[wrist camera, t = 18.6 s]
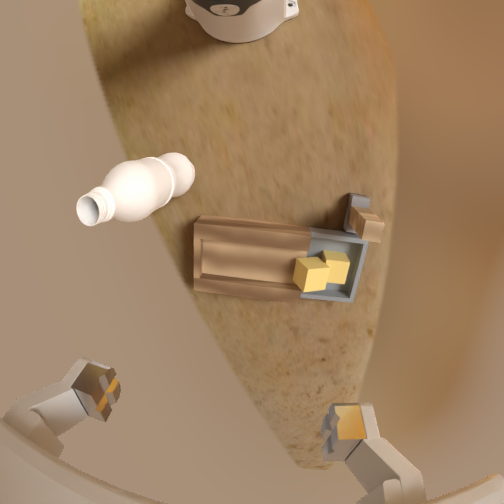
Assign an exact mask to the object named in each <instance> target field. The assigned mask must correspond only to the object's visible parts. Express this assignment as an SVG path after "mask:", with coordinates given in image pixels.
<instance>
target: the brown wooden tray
mask: <svg viewBox="0 0 504 504" xmlns="http://www.w3.org/2000/svg"><path fill="white" fill-rule="evenodd" d="M311 237H312V236H311V233H310V230H309V226H302V225H294V224H285V223H277V222H268V221H260V220H251V219H241V218H232V217H222V216H212V215H201V216H200V217H199V218H198V219H197V220H196V222H195V223H194V290H196V291H202V292H209V293H216V294H224V295H231V296H239V297H246V298H254V299H263V300H271V301H280V302H289V303H298V304H299V302H300V297H301V292H302V290H301V289H300V288H299V287H298V286H297V284H296V283H295V282H294V281H293V275H294V269H295V263H296V258H305V257H306V255H307V251H308V252H309V248H310V243H311Z"/></svg>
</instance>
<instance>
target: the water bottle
mask: <svg viewBox="0 0 504 504" xmlns="http://www.w3.org/2000/svg"><path fill="white" fill-rule="evenodd" d="M194 179H195V169H194V166H193V164H192V163H191V162H190V161H189V160H188V158H187V157H186V156H184V155H182V154H180V153H167V154H164V155H161V156H160V157H158V158H155V157H147V158H143V159H140V160H135V161H126V162H123V163H120V164H118V165H116V166H115V167H114V168H112V169H111V170H110V171H109V172H108V174H107V175H106V176H105V178H104V180H103V182H102V184H101V186H100V187H96V188H94V189H93V190H92V191H90V192H89V193H88V194H85V195H84V196H82V197H81V198H80V199H79V200H78V202H77V207H76V210H77V215H78V217H79V219H80V221H82V223H83V224H85V225H87V226H94V225H96V224H98V223H102V222H107V221H109V220H111V219H112V218H113V219H115V220H118V221H122V222H136V221H140V220H142V219H144V218H146V217H147V216H149V215H150V214H151V213H152V212H153V211H155V210H157V209H158V208H160V207H162V206H164V205H165V204H166V203H167V202H168V201H169V200H170V199H171V198H172V197H178V196H181V195H182V194H184V193H185V192H186V191H188V190H189V188H190V187H191V185H192V183H193V181H194Z"/></svg>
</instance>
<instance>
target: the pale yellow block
mask: <svg viewBox="0 0 504 504" xmlns="http://www.w3.org/2000/svg"><path fill="white" fill-rule="evenodd" d="M329 271H330V267H329V266H328V265H327V264H326V263H324V262H323V261H322V260H321V259H320V258H318V257H305V258H296V263H295V269H294V275H293V281H294V282H295V283H296V284H297V286H298V287H299V288H300V289H301V290H302V291H303V292H311V291H319V290H325V288H326V284H327V279H328V275H329Z"/></svg>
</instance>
